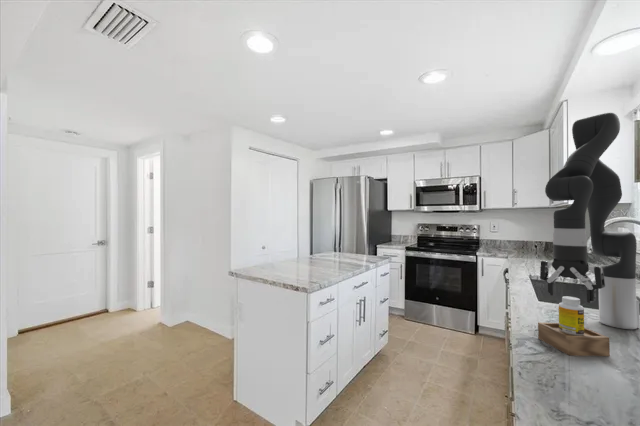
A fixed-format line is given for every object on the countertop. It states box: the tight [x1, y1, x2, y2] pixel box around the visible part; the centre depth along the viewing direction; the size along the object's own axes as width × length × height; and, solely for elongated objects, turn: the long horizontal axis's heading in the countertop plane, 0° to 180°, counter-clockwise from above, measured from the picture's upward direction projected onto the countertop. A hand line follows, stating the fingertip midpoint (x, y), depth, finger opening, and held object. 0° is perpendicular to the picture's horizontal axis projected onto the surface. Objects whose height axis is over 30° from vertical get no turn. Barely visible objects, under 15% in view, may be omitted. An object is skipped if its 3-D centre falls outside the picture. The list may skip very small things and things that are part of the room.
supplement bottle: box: [558, 295, 585, 336], centre depth 82 cm, size 6×6×10 cm
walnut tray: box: [537, 321, 611, 357], centre depth 82 cm, size 11×11×5 cm
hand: (570, 298), depth 82 cm, fingers open, 8 cm apart
